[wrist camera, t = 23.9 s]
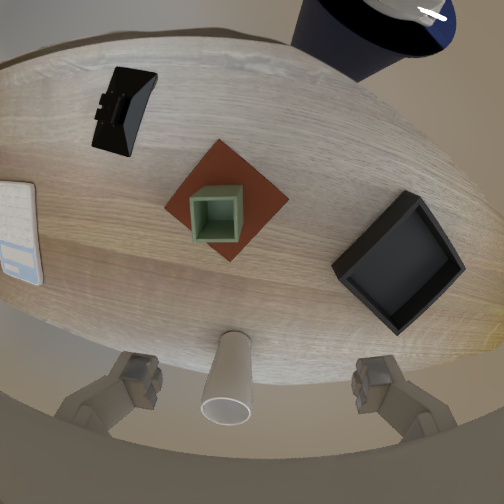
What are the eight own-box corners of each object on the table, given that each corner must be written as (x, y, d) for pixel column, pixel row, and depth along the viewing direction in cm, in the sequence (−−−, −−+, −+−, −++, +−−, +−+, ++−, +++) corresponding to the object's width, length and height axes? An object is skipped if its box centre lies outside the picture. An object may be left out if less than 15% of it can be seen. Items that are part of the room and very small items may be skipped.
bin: (404, 189, 36) (420, 196, 31) (451, 257, 39) (466, 268, 35) (331, 265, 40) (338, 279, 36) (387, 320, 44) (397, 336, 39)
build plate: (117, 66, 30) (101, 60, 26) (160, 74, 31) (147, 66, 27) (92, 146, 35) (74, 148, 31) (132, 157, 36) (116, 160, 31)
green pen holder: (204, 185, 36) (189, 197, 29) (242, 184, 36) (236, 196, 29) (206, 222, 38) (192, 242, 31) (243, 221, 38) (238, 242, 31)
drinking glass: (262, 349, 47) (260, 420, 33) (228, 360, 48) (217, 429, 34) (243, 320, 45) (235, 392, 31) (207, 333, 46) (189, 403, 32)
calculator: (36, 182, 37) (29, 184, 35) (45, 284, 44) (40, 288, 43) (-4, 179, 37) (-10, 181, 35) (6, 270, 44) (1, 273, 42)
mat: (219, 139, 34) (218, 139, 34) (288, 198, 37) (289, 199, 37) (164, 207, 38) (163, 208, 38) (230, 261, 41) (230, 262, 40)
